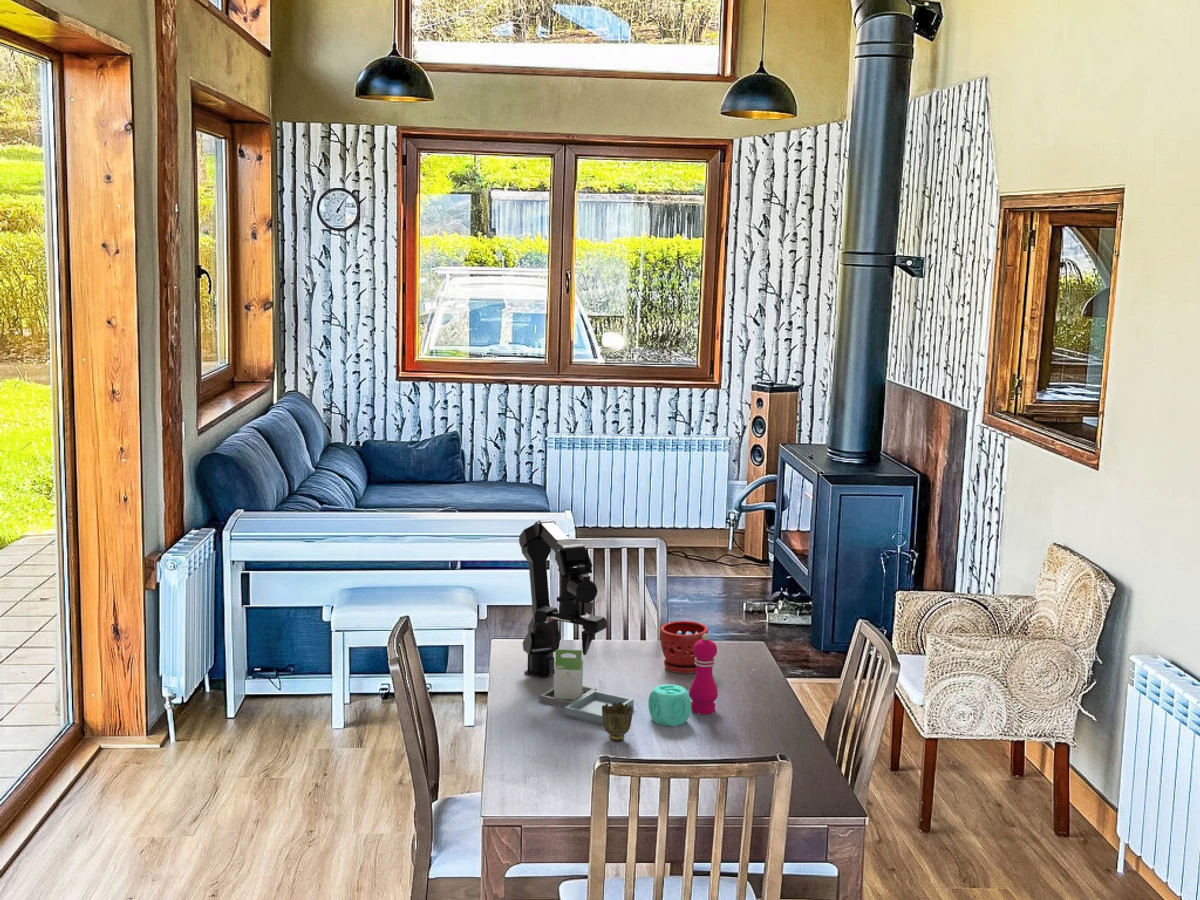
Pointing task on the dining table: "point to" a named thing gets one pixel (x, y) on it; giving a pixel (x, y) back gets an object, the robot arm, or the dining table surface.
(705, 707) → the pepper mill
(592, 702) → the tray
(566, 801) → the dining table surface
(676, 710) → the decorative dice
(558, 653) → the ink box
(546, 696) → the frame
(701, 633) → the plant pot
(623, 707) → the cup
